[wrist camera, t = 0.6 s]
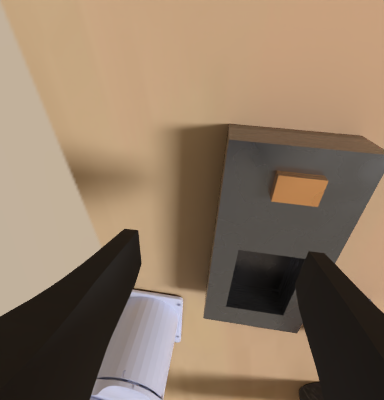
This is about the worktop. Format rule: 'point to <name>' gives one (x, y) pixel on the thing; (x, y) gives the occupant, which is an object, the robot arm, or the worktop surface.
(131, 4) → the worktop surface
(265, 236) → the grey slotted block
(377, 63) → the worktop surface
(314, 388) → the travel mug
